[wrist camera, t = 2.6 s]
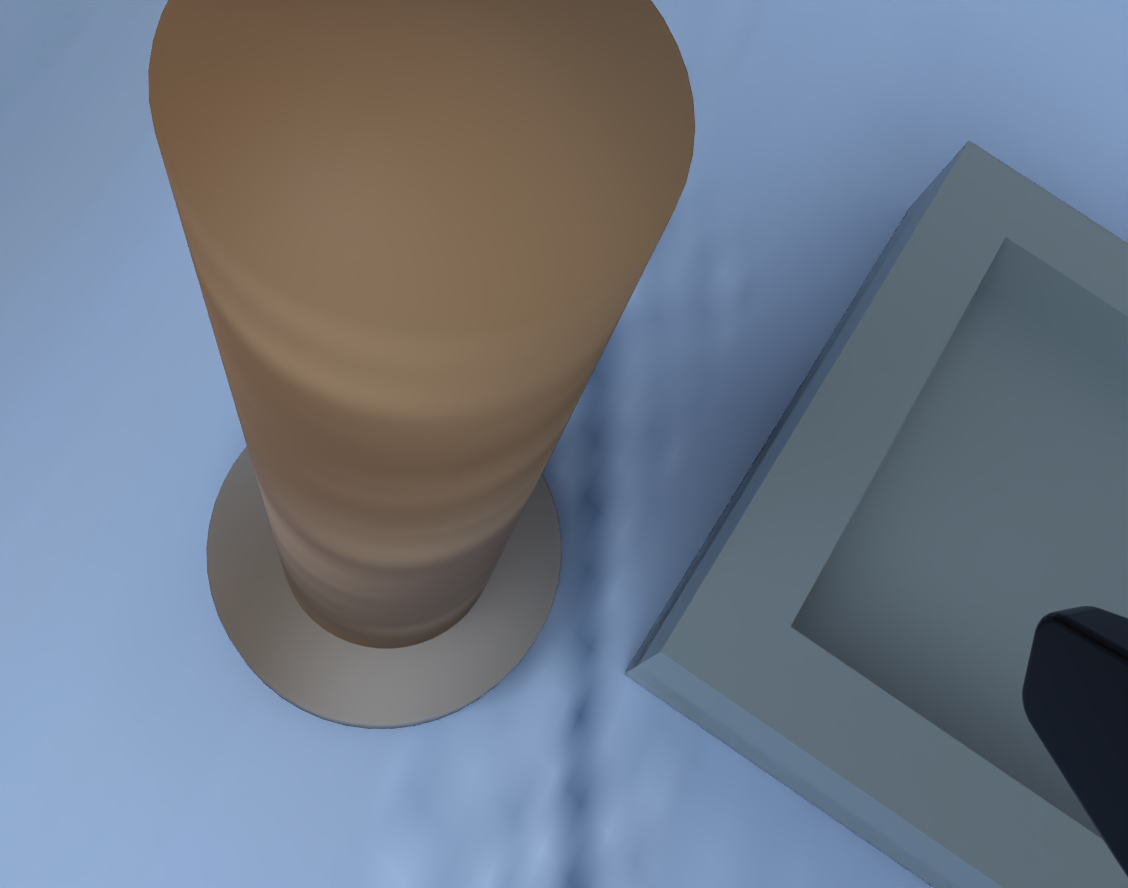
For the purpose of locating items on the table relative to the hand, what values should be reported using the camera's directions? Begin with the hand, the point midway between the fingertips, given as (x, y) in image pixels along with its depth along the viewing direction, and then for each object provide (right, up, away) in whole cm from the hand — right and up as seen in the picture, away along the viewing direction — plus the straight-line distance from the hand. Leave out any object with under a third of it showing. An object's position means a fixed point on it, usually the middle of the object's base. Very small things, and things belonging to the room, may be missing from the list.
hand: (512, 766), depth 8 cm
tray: (+10, -1, +13) cm, 17 cm away
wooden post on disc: (-3, 0, +11) cm, 12 cm away
